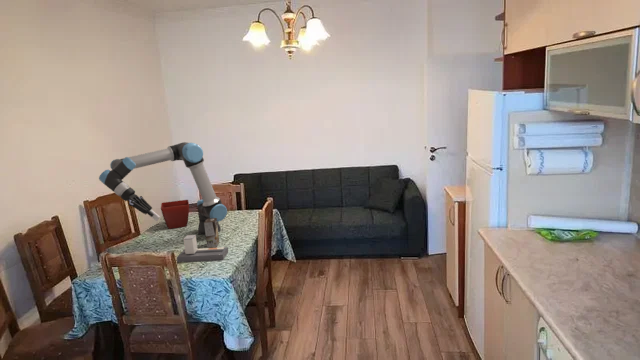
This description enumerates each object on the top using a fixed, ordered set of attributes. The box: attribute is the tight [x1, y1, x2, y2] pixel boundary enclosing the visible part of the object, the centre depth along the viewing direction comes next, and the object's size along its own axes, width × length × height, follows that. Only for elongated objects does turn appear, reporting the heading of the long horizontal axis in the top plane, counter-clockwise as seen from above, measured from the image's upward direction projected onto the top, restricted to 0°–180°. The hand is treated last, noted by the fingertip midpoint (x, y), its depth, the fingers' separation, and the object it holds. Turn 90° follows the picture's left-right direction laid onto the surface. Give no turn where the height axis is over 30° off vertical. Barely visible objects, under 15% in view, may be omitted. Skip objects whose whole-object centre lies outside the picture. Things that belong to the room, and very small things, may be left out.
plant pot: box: [160, 199, 190, 230], centre depth 309 cm, size 19×19×17 cm
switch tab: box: [182, 234, 199, 254], centre depth 241 cm, size 5×6×9 cm
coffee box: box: [204, 218, 220, 248], centre depth 261 cm, size 9×6×16 cm
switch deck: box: [176, 246, 229, 263], centre depth 242 cm, size 26×12×3 cm, turn 88°
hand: (158, 218), depth 239 cm, fingers closed
